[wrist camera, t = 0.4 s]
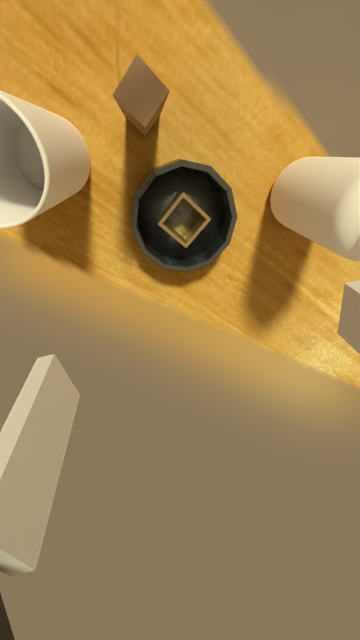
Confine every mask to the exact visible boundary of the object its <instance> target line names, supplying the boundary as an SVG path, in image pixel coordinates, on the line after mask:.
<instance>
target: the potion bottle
mask: <svg viewBox="0 0 360 640" xmlns="http://www.w3.org/2000/svg"><path fill="white" fill-rule="evenodd" d="M270 204H271V210H272V213H273V215H274V216H275V218H276V220H277V221H278V222H280V223H281V224H282V225H283V226H285V227H287V228H289V229H291V230H293V231H295V232H297V233H299V234H300V235H302V236H304V237H306V238H308V239H310V240H312V241H314V242H315V243H317V244H319V245H321V246H323V247H325V248H327V249H329V250H331V251H332V252H334V253H336V254H338V255H340V256H342V257H344V258H347V259H351V260H354V261H360V158H345V157H303V158H301V159H298V160H296V161H294V162H292V163H291V164H290V165H288V166H287V167H286V168H285V169H283V171H282V172H281V173H280V175H279V176H278V177H277V179H276V181H275V183H274V186H273V188H272V191H271V198H270Z"/></svg>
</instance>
